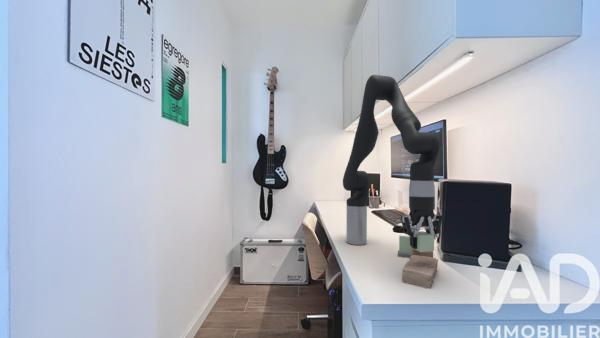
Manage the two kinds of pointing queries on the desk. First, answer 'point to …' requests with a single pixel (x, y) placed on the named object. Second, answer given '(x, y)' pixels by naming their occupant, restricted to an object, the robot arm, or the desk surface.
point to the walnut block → (422, 253)
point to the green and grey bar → (404, 247)
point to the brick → (420, 271)
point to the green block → (425, 242)
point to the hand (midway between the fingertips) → (421, 247)
